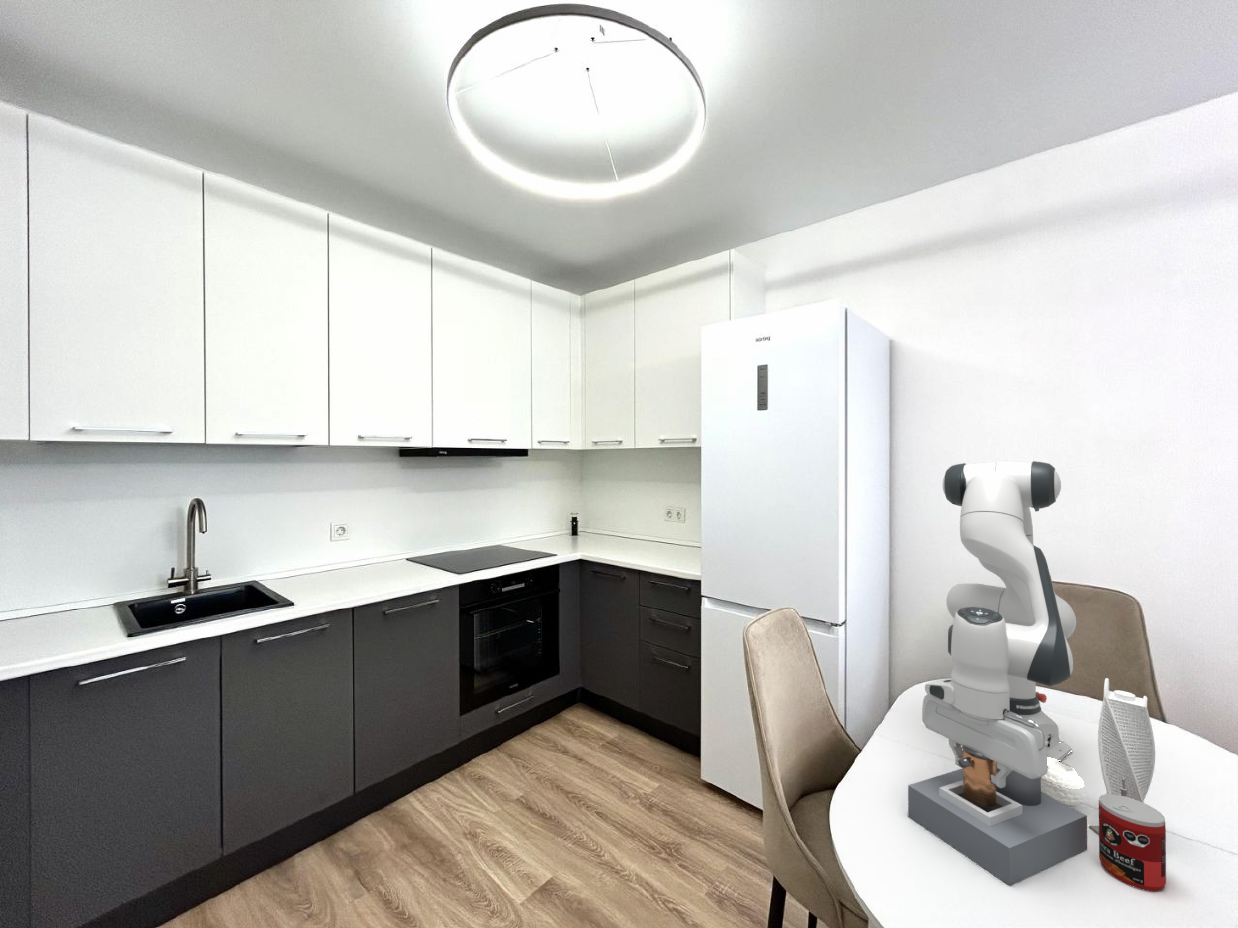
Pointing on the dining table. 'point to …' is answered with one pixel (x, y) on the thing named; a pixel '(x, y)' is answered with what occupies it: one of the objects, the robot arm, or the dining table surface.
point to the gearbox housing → (1000, 824)
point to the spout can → (978, 778)
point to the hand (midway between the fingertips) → (979, 775)
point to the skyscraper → (1125, 745)
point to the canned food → (1132, 842)
